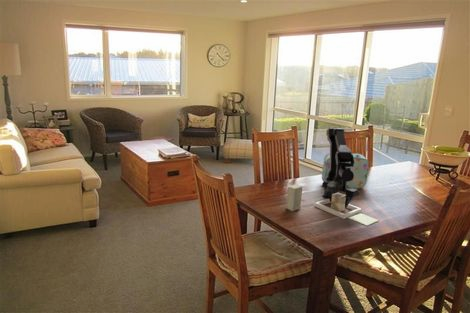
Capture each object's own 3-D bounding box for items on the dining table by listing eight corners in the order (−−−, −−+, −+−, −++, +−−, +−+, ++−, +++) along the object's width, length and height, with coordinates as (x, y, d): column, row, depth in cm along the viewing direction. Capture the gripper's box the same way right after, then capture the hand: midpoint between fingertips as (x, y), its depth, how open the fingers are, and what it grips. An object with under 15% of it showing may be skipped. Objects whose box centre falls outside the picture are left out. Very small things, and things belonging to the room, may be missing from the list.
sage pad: (348, 218, 173) (348, 217, 173) (360, 213, 179) (360, 213, 179) (366, 226, 166) (366, 225, 165) (378, 221, 172) (378, 220, 171)
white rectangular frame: (314, 206, 186) (314, 202, 186) (331, 200, 195) (332, 197, 195) (344, 218, 172) (344, 215, 172) (361, 212, 181) (362, 208, 181)
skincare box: (294, 205, 186) (296, 183, 183) (300, 208, 182) (303, 186, 179) (285, 208, 182) (287, 185, 179) (292, 211, 179) (294, 188, 176)
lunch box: (362, 184, 225) (367, 151, 220) (368, 190, 215) (373, 155, 210) (319, 182, 225) (323, 149, 220) (323, 188, 215) (327, 153, 210)
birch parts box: (330, 208, 184) (332, 193, 182) (336, 206, 187) (338, 192, 185) (338, 212, 180) (340, 196, 178) (344, 210, 183) (346, 195, 181)
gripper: (316, 172, 181) (313, 201, 185) (348, 183, 167) (344, 214, 171) (330, 169, 188) (327, 197, 192) (361, 179, 174) (357, 209, 178)
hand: (338, 204), depth 183 cm, fingers open, 9 cm apart
